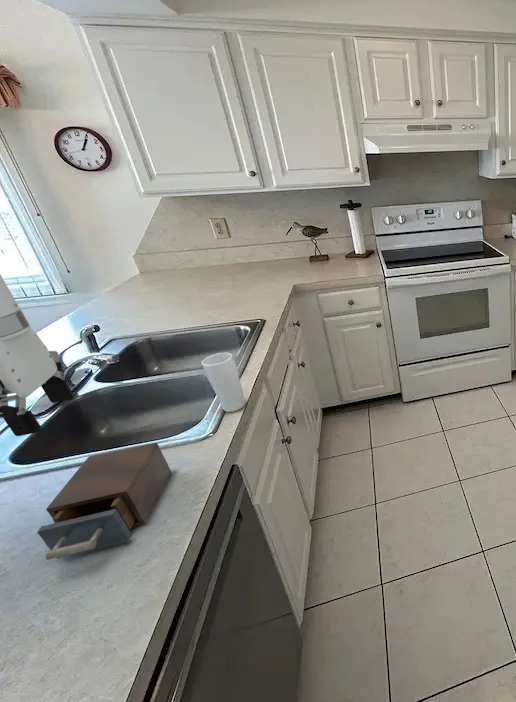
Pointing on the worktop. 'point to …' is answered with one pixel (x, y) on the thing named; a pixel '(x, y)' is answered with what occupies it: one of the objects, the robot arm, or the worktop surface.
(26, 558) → the worktop surface
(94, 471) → the cabinet
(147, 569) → the worktop surface
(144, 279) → the worktop surface
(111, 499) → the drawer
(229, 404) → the drinking glass
